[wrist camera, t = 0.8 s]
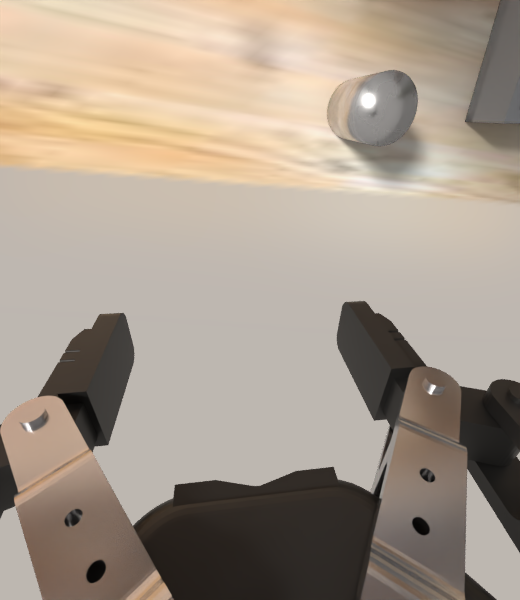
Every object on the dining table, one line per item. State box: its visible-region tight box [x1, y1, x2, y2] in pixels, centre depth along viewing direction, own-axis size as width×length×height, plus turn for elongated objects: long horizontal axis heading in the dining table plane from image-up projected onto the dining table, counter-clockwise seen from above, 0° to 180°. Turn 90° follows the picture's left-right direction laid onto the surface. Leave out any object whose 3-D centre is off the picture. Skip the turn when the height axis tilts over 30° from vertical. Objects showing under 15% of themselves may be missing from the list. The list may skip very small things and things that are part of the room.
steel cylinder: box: [327, 70, 418, 146], centre depth 27 cm, size 5×5×7 cm
